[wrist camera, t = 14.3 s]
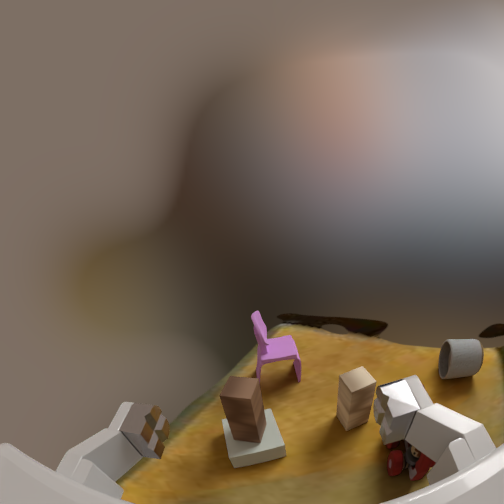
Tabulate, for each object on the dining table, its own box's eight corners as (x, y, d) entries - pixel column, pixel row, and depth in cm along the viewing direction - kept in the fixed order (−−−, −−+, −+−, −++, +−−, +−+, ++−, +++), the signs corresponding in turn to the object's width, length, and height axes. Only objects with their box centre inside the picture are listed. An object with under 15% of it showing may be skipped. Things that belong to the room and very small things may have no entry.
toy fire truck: (387, 490, 21) (408, 459, 18) (382, 426, 32) (394, 384, 29) (433, 480, 19) (462, 445, 16) (421, 420, 30) (438, 377, 27)
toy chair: (303, 385, 46) (299, 320, 42) (258, 392, 46) (244, 329, 42) (296, 359, 54) (290, 298, 50) (255, 366, 54) (244, 306, 50)
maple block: (356, 406, 38) (362, 366, 35) (367, 421, 34) (376, 381, 31) (336, 415, 37) (339, 375, 35) (346, 431, 34) (351, 392, 31)
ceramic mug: (477, 382, 32) (489, 350, 30) (442, 387, 35) (452, 356, 33) (464, 350, 41) (472, 320, 39) (433, 353, 44) (440, 323, 42)
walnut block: (266, 424, 35) (258, 378, 32) (260, 443, 31) (250, 399, 29) (241, 421, 36) (229, 376, 34) (233, 439, 32) (219, 395, 30)
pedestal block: (273, 422, 39) (270, 408, 38) (286, 456, 31) (284, 445, 30) (227, 432, 38) (221, 419, 37) (234, 469, 30) (229, 457, 29)
